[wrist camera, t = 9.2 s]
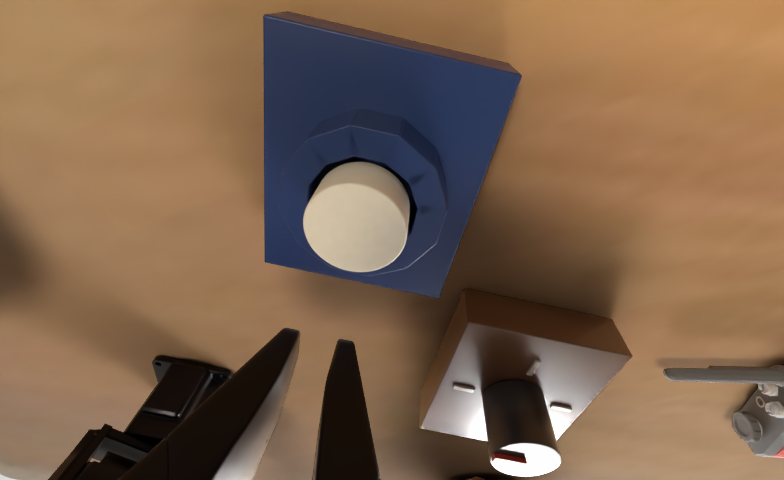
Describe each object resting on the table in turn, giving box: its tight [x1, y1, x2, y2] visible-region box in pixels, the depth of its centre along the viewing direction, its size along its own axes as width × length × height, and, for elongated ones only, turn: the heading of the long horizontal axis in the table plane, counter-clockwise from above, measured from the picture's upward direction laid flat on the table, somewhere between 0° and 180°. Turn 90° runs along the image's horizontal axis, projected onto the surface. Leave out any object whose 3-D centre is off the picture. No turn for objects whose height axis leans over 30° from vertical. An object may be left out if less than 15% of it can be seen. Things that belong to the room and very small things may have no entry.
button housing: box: [263, 12, 522, 298], centre depth 17 cm, size 12×10×5 cm
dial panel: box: [420, 288, 632, 441], centre depth 26 cm, size 12×10×3 cm
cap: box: [303, 162, 410, 272], centre depth 15 cm, size 4×4×2 cm
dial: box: [482, 380, 561, 477], centre depth 23 cm, size 4×4×4 cm
